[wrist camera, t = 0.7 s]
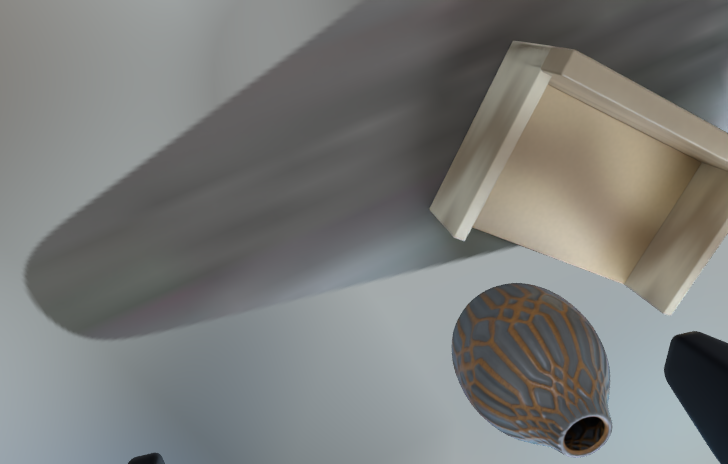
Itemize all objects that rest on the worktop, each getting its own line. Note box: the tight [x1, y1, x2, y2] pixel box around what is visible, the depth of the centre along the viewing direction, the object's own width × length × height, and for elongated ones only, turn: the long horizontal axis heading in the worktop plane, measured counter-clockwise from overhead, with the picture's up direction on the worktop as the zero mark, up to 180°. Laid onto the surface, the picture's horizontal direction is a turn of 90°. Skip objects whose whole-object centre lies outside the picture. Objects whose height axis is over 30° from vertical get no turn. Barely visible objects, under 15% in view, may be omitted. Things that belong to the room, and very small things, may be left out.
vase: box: [452, 283, 612, 458], centre depth 26 cm, size 7×7×9 cm
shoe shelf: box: [429, 41, 728, 316], centre depth 25 cm, size 8×13×5 cm, turn 66°
